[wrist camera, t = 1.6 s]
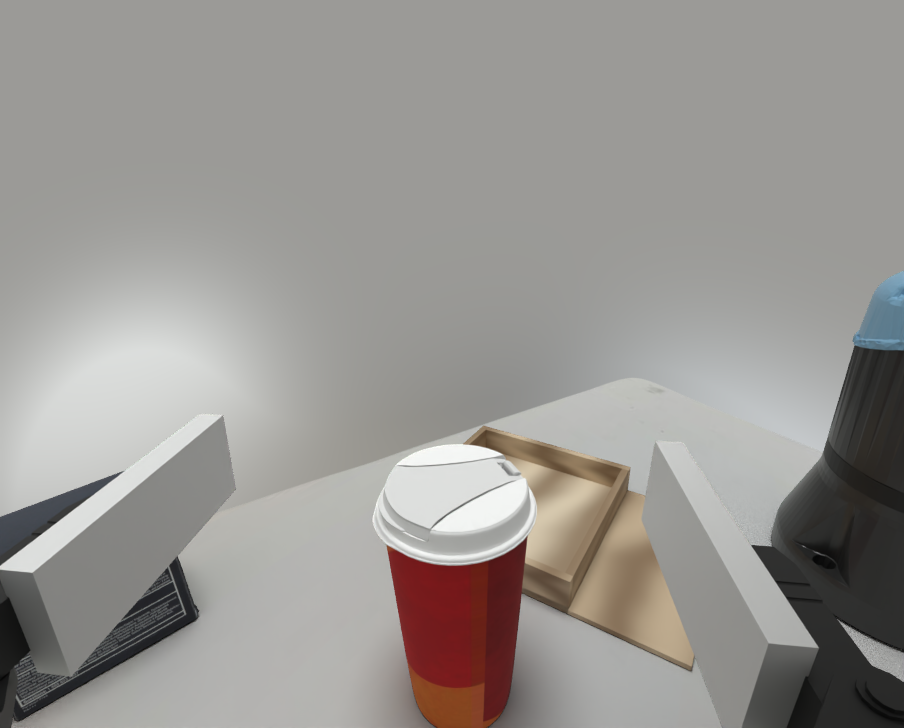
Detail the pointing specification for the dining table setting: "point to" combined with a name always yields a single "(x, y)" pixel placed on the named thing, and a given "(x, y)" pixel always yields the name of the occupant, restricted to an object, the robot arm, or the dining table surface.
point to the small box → (137, 630)
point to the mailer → (592, 546)
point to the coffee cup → (457, 576)
